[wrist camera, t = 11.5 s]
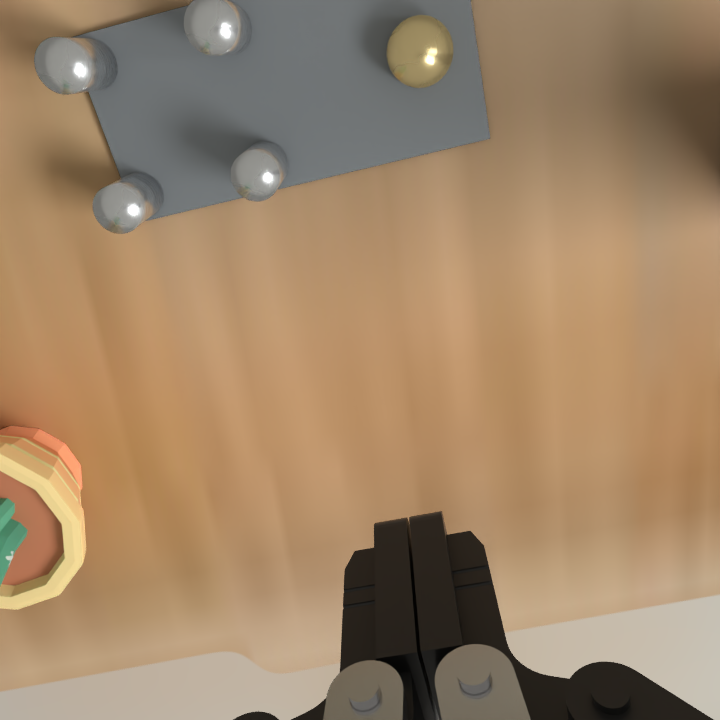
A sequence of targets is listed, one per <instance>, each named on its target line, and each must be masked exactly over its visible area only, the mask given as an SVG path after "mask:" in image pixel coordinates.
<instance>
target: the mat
mask: <svg viewBox="0 0 720 720" xmlns="http://www.w3.org/2000/svg"><path fill="white" fill-rule="evenodd" d="M227 1H230V2H232V3H235V4H237V5H239V6H240V7H241V8H242V9H243V10H244V11H245V12H246V13H247V15H248V16H249V18H250V21H251V25H252V37H251V40H250V43H249V44H248V46H247V47H246V49H245V50H244V51H242V52H241V53H239V54H236V55H213V56H212V55H207V54H204V53H201V52H200V51H198V50H197V49H196V48H195V47H193V45H192V44H191V43H190V41H189V40H188V38H187V36H186V33H185V29H184V16H185V12H186V9H187V8H188V6H189V5H188V6H184V7H181V8H177V9H173V10H170V11H166V12H162V13H159V14H155V15H151V16H148V17H144V18H140V19H137V20H133V21H129V22H126V23H122V24H118V25H115V26H111V27H107V28H104V29H100V30H96V31H93V32H89V33H85V34H82V35H78V36H74V37H71V38H87V39H96V40H99V41H101V42H103V43H104V44H106V45H107V46H108V47H109V48H110V49H111V50H112V52H113V53H114V55H115V58H116V60H117V65H118V73H117V77H116V79H115V81H114V82H113V84H112V85H111V86H109V87H108V88H106V89H103V90H97V91H89V95H90V97H91V100H92V103H93V105H94V108H95V111H96V113H97V116H98V118H99V121H100V124H101V126H102V129H103V132H104V134H105V137H106V140H107V142H108V145H109V148H110V150H111V153H112V155H113V158H114V161H115V163H116V166H117V169H118V171H119V174H120V177H121V178H123V177H125V176H127V175H129V174H131V173H135V172H143V173H147V174H149V175H151V176H152V177H154V178H155V179H156V180H157V181H158V182H159V184H160V185H161V187H162V190H163V194H164V200H163V204H162V206H161V208H160V209H159V210H158V211H157V212H156V213H155V214H153V215H152V216H151V217H150V218H148V219H147V220H151V219H156V218H160V217H164V216H168V215H172V214H177V213H181V212H185V211H189V210H193V209H198V208H202V207H206V206H210V205H214V204H218V203H223V202H227V201H231V200H235V199H239V198H244V197H242V196H241V195H240V194H239V193H238V192H237V191H236V190H235V188H234V187H233V184H232V181H231V167H232V165H233V163H234V161H235V160H236V158H237V157H238V156H239V155H241V154H242V153H243V152H244V151H246V150H247V149H248V148H250V147H251V146H252V145H253V144H255V143H257V142H260V141H270V142H273V143H276V144H277V145H279V146H280V147H281V148H282V149H283V150H284V152H285V153H286V155H287V158H288V163H289V167H288V172H287V175H286V177H285V178H284V180H283V181H282V183H281V184H280V186H279V187H278V189H281V188H286V187H290V186H294V185H298V184H302V183H306V182H311V181H315V180H319V179H323V178H327V177H332V176H336V175H340V174H344V173H348V172H353V171H357V170H361V169H365V168H369V167H373V166H378V165H382V164H386V163H390V162H394V161H399V160H403V159H407V158H411V157H415V156H420V155H424V154H428V153H432V152H436V151H441V150H445V149H449V148H453V147H457V146H461V145H466V144H470V143H474V142H478V141H482V140H487V139H490V133H489V126H488V119H487V112H486V105H485V98H484V91H483V84H482V77H481V70H480V63H479V56H478V49H477V42H476V35H475V28H474V21H473V14H472V7H471V0H227ZM416 15H427V16H431V17H434V18H436V19H437V20H439V21H440V22H441V23H443V24H444V26H445V27H446V28H447V29H448V31H449V33H450V35H451V38H452V42H453V59H452V62H451V65H450V67H449V69H448V71H447V73H446V74H445V75H444V76H443V78H442V79H440V80H439V81H438V82H437V83H435V84H433V85H431V86H428V87H424V88H414V87H410V86H407V85H405V84H403V83H402V82H401V81H399V80H398V79H397V78H396V77H395V76H394V75H393V73H392V72H391V70H390V68H389V65H388V62H387V56H386V50H387V44H388V40H389V38H390V36H391V34H392V32H393V31H394V29H395V28H396V27H397V26H398V25H399V24H400V23H401V22H403V21H404V20H406V19H407V18H409V17H412V16H416ZM147 220H146V221H147Z"/></svg>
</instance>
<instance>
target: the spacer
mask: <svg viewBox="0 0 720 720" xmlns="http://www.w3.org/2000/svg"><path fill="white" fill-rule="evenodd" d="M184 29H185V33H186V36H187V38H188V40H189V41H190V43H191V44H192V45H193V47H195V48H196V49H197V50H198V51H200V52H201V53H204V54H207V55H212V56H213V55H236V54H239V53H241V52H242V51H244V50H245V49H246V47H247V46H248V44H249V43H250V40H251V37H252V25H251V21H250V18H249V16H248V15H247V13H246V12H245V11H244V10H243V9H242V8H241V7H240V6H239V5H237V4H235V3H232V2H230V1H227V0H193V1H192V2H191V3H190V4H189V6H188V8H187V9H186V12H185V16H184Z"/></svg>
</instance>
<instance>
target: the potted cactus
mask: <svg viewBox="0 0 720 720" xmlns="http://www.w3.org/2000/svg"><path fill="white" fill-rule="evenodd" d="M81 489H82V475H81V465H80V463H79V462H78V461H77V459H76V458H75V456H74V455H73V454H72V452H71V451H70V449H69V448H68V447H67V445H66V444H65V443H64V442H62V441H60V440H58V439H56V438H55V437H53V436H51V435H49V434H48V433H46V432H44V431H42V430H41V429H37V428H28V427H19V426H8V427H6V428H3V429H1V430H0V608H5V609H15V610H17V609H20V608H23V607H26V606H29V605H32V604H35V603H38V602H41V601H44V600H47V599H50V598H53V597H56V596H58V595H60V594H61V592H62V591H63V590H64V588H65V587H66V586H67V584H68V583H69V582H70V580H71V579H72V578H73V576H74V575H75V574H76V572H77V571H78V570H79V568H80V567H81V566H82V564H83V561H84V557H85V552H86V539H85V524H84V510H83V508H82V507H81V497H80V491H81Z"/></svg>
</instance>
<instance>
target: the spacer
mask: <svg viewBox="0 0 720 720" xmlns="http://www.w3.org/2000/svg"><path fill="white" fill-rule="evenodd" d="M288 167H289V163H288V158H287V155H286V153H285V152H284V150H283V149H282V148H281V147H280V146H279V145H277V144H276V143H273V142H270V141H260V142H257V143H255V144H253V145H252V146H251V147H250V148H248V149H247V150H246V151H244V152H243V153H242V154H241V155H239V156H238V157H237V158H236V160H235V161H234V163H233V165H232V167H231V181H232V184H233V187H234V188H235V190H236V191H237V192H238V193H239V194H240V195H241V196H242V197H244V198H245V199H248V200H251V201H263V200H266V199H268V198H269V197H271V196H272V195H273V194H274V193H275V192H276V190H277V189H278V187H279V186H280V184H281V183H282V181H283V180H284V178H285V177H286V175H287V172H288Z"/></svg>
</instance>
